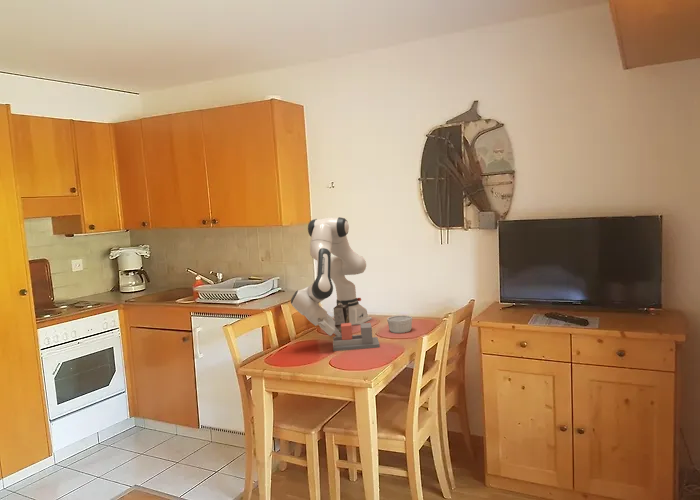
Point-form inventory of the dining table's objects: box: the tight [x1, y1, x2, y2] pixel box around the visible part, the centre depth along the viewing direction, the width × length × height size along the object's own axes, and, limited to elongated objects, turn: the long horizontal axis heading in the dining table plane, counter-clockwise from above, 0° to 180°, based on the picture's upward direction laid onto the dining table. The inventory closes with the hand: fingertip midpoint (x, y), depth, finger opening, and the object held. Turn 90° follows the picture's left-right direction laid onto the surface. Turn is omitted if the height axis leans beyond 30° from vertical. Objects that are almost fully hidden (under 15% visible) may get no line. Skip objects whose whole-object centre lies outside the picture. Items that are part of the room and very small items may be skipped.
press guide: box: [332, 322, 381, 352], centre depth 269 cm, size 22×14×10 cm, turn 91°
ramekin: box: [387, 314, 413, 334], centre depth 292 cm, size 13×13×7 cm
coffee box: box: [333, 304, 350, 337], centre depth 289 cm, size 9×6×16 cm
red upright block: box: [341, 323, 353, 340], centre depth 269 cm, size 5×6×9 cm
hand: (340, 335), depth 269 cm, fingers closed, pressing on red upright block
